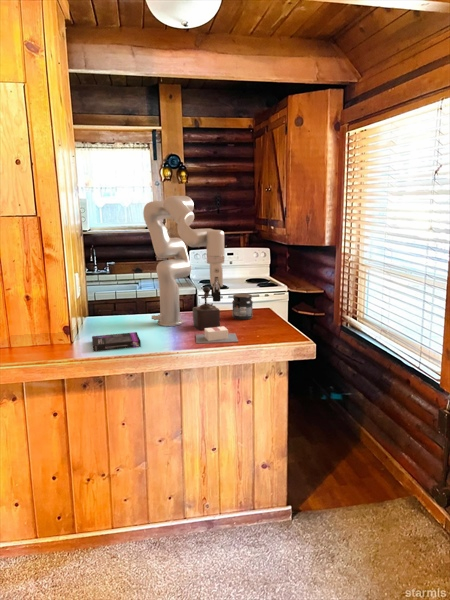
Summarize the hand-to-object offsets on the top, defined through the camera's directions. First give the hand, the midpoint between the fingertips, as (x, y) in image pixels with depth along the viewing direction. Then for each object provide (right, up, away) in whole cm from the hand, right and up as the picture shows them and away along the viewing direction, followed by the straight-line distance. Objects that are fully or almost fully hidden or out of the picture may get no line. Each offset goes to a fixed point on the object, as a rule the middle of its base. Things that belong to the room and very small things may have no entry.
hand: (215, 298), depth 192 cm
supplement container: (+13, -10, +38) cm, 42 cm away
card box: (0, -17, +4) cm, 18 cm away
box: (-43, -20, -2) cm, 47 cm away
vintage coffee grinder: (-6, -13, +25) cm, 29 cm away
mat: (0, -18, +4) cm, 18 cm away
